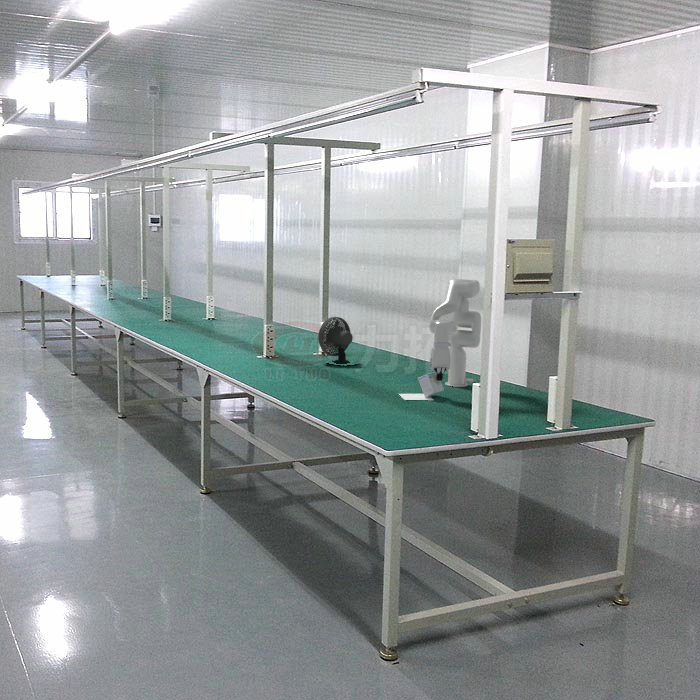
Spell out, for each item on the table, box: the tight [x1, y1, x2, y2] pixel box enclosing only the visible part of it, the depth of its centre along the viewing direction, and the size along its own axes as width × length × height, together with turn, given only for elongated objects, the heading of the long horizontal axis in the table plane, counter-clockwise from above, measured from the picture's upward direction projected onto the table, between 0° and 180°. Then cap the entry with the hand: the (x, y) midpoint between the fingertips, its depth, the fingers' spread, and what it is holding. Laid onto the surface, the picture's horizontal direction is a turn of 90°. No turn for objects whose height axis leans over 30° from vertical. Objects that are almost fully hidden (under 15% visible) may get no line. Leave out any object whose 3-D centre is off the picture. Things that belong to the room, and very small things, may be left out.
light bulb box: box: [417, 371, 445, 397], centre depth 395 cm, size 11×7×11 cm, turn 145°
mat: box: [398, 393, 434, 401], centre depth 393 cm, size 15×16×1 cm
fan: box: [317, 316, 354, 364], centre depth 495 cm, size 26×26×30 cm
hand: (439, 380), depth 394 cm, fingers closed
